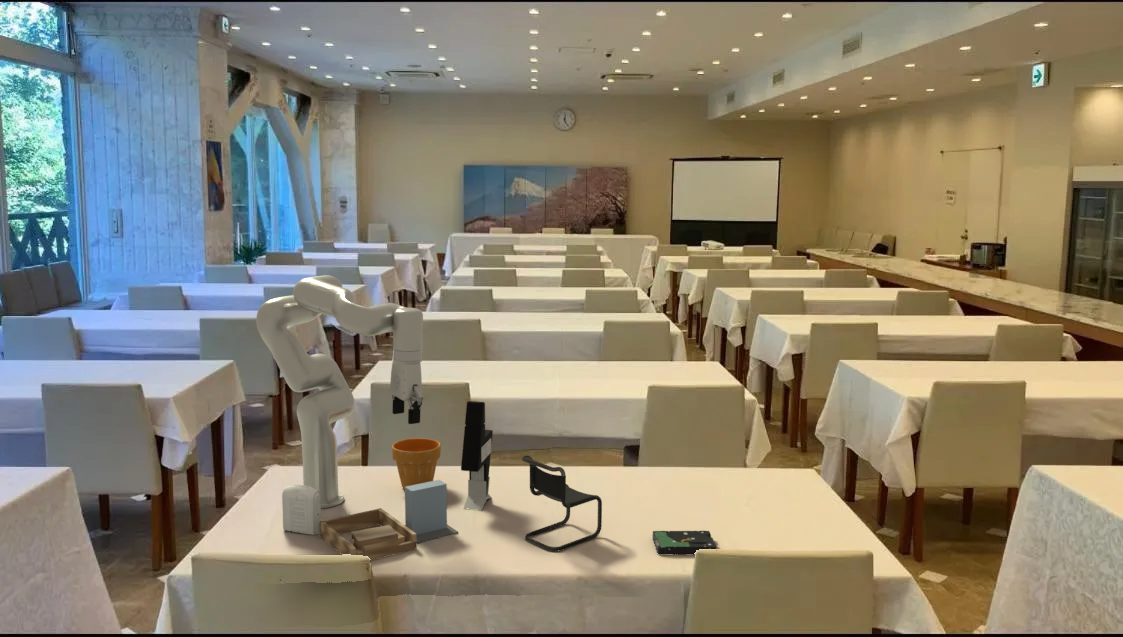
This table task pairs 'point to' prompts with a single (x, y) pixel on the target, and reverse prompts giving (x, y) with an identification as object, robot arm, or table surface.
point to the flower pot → (416, 460)
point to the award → (476, 455)
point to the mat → (435, 534)
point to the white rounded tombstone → (301, 509)
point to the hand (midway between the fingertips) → (406, 418)
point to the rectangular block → (426, 506)
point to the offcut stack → (375, 538)
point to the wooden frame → (363, 520)
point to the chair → (558, 499)
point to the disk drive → (682, 541)
